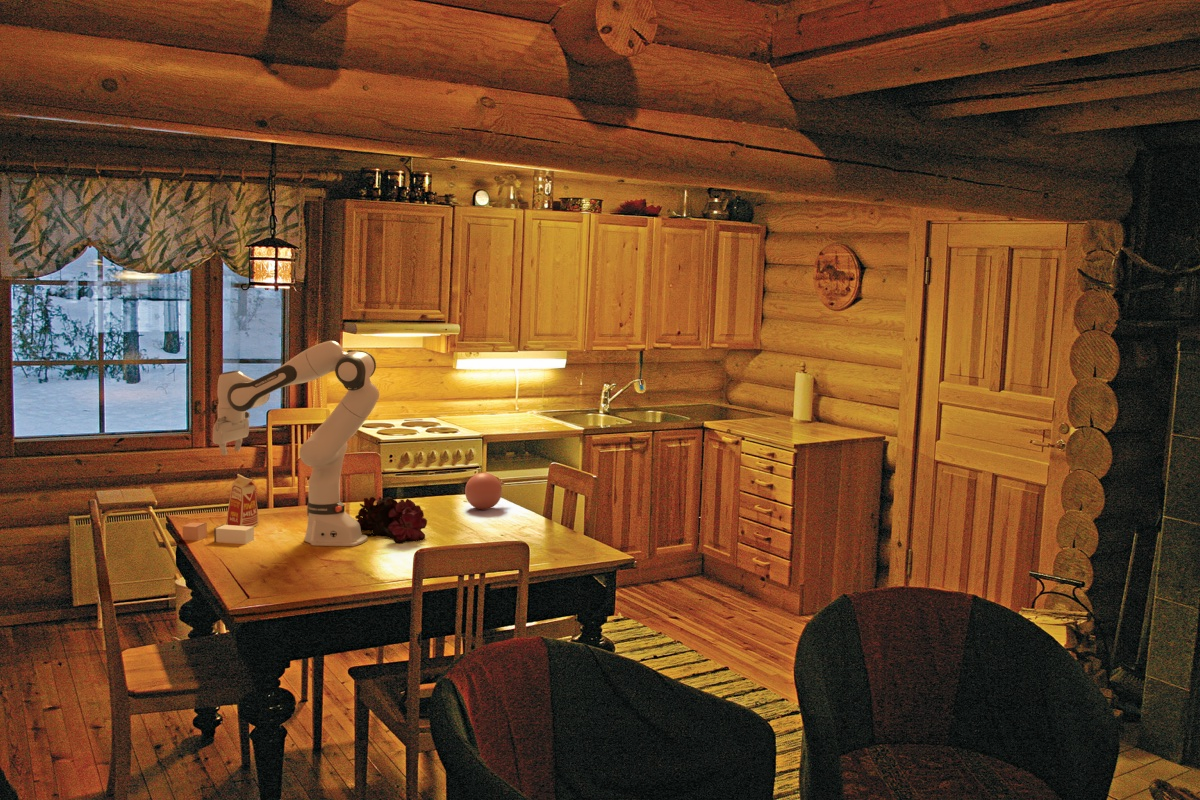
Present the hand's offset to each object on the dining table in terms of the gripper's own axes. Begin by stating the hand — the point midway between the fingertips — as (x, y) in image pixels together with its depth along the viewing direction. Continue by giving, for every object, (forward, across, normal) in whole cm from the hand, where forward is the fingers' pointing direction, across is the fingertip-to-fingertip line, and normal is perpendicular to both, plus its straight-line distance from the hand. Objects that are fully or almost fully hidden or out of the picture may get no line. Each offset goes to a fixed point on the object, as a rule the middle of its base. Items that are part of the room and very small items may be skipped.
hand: (231, 452), depth 389 cm
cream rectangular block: (+31, -8, -5) cm, 32 cm away
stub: (+30, -8, +10) cm, 33 cm away
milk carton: (+31, +16, +4) cm, 35 cm away
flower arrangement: (+32, +18, -56) cm, 66 cm away
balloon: (+31, +72, -77) cm, 110 cm away
